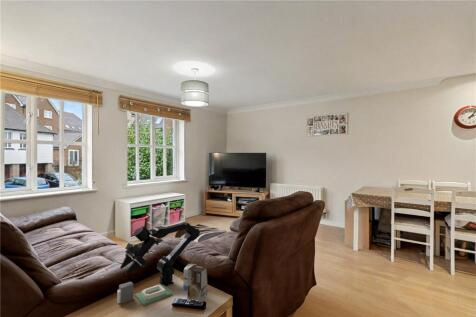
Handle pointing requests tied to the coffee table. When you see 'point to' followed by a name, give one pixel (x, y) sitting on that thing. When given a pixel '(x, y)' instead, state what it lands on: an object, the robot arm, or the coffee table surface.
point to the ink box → (186, 276)
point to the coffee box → (197, 283)
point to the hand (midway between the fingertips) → (123, 271)
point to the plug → (125, 292)
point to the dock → (153, 294)
